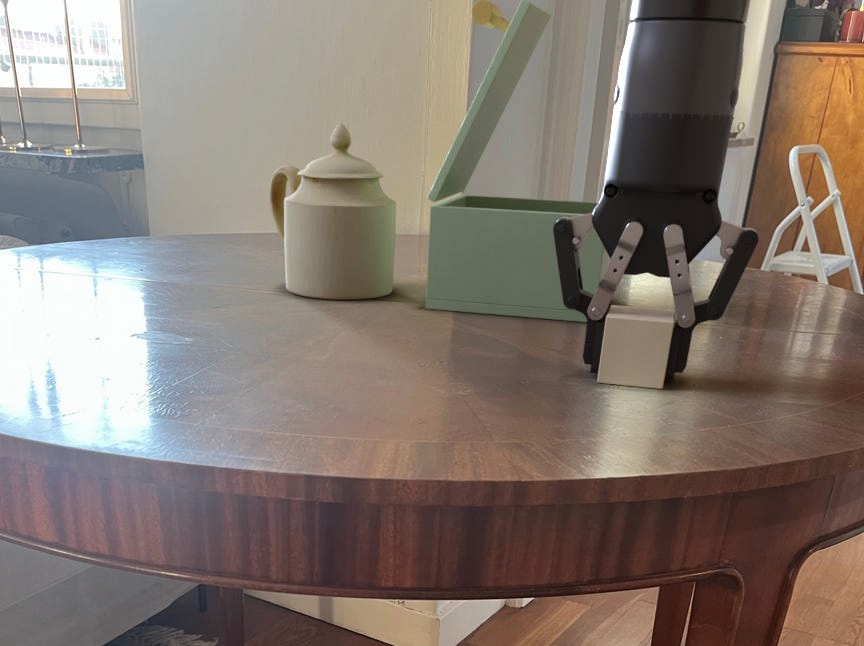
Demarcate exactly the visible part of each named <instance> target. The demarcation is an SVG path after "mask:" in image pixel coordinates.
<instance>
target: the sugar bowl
mask: <svg viewBox="0 0 864 646" xmlns="http://www.w3.org/2000/svg"><path fill="white" fill-rule="evenodd" d="M351 143H352V138H351V134H350V131H349V129H348V128H347V127H346V126H345V124H344V123H343V122H340V123H339V124H337V125H336V126H335V128H334V130H333V131H332V134H331V137H330V145H331V146H332V147H333V150H334V151H333V153H331V154H328V155H325V156H322V157H319V158H317V159H314V160H312V161H310V162H308V164H307V165H306V167H305V168H304V169H300V168H298V167H296V166H294V165H291V164H290V165H289V164H285V165H281V166H280V167H278V168H277V169H276V170H275V171H274V172H273V173H272V176H271V178H270V185H269V202H270V203H269V204H270V210H271V215H272V219H273V223H274V227H275V229H276V231H277V233H278V235H279V237H280V239H281V240H282V243H283V244H284V263H285V264H284V267H285V269H284V270H285V287H286V290H287V291H288V292H289V293H292V294H293V295H297V296H301V297H307V298H313V299H323V300H368V299H377V298H381V297H385V296H388V295H390V294H391V293H392V292H393V290H394V289H393V287H394V272H395V271H394V270H395V256H396V238H397V237H396V233H397V202H396V201H395V200H393V199H392V198H391V197H389V196H388V195H387V194H386V193H385V192H384V190H383V188H382V186H381V183H380V179H382V178H384V176H385V175H384V174H382V173H381V172H379V171H377V169H376V167H375V165H373V164H372V163H371V162H369V161H367V160H364V159H362V158H359V157H357V156H355V155H352V154H350V153H349V152H348V151H349V148H350V146H351ZM288 183H289V187H290V191H291V194H290V195H288V196H287V184H288Z"/></svg>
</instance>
